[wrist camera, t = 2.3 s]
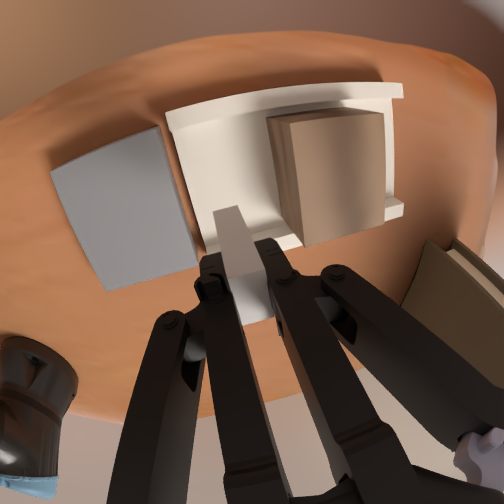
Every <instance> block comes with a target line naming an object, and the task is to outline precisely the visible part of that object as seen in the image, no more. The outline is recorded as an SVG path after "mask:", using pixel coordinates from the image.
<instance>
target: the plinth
mask: <svg viewBox="0 0 504 504" xmlns="http://www.w3.org/2000/svg"><path fill="white" fill-rule="evenodd" d="M50 175H51V178H52V180H53V183H54V185H55V188H56V191H57V193H58V196H59V198H60V201H61V203H62V205H63V208H64V210H65V212H66V215H67V217H68V219H69V221H70V223H71V226H72V228H73V230H74V232H75V234H76V236H77V238H78V240H79V242H80V244H81V246H82V248H83V250H84V252H85V254H86V256H87V258H88V260H89V262H90V264H91V266H92V268H93V269H94V271H95V273H96V275H97V277H98V278H99V280H100V282H101V284H102V285H103V287H104V289H105V291H106V292H108V291H112V290H115V289H119V288H122V287H126V286H129V285H133V284H136V283H140V282H143V281H147V280H150V279H154V278H157V277H161V276H164V275H168V274H172V273H175V272H179V271H182V270H186V269H189V268H193V267H196V266H199V262H198V253H197V248H196V245H195V242H194V239H193V236H192V233H191V230H190V227H189V224H188V221H187V218H186V214H185V211H184V208H183V205H182V202H181V199H180V195H179V192H178V189H177V186H176V182H175V179H174V176H173V172H172V169H171V165H170V162H169V159H168V155H167V152H166V148H165V144H164V141H163V137H162V134H161V130H160V126H156V127H153V128H150V129H147V130H144V131H141V132H138V133H135V134H132V135H129V136H127V137H124V138H121V139H119V140H116V141H114V142H111V143H109V144H106V145H104V146H101V147H99V148H96V149H94V150H92V151H89V152H87V153H85V154H83V155H80V156H78V157H76V158H74V159H72V160H70V161H68V162H66V163H63V164H62V165H60V166H59V167H57V168H56V169H54V170H53V171H51V172H50Z"/></svg>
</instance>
